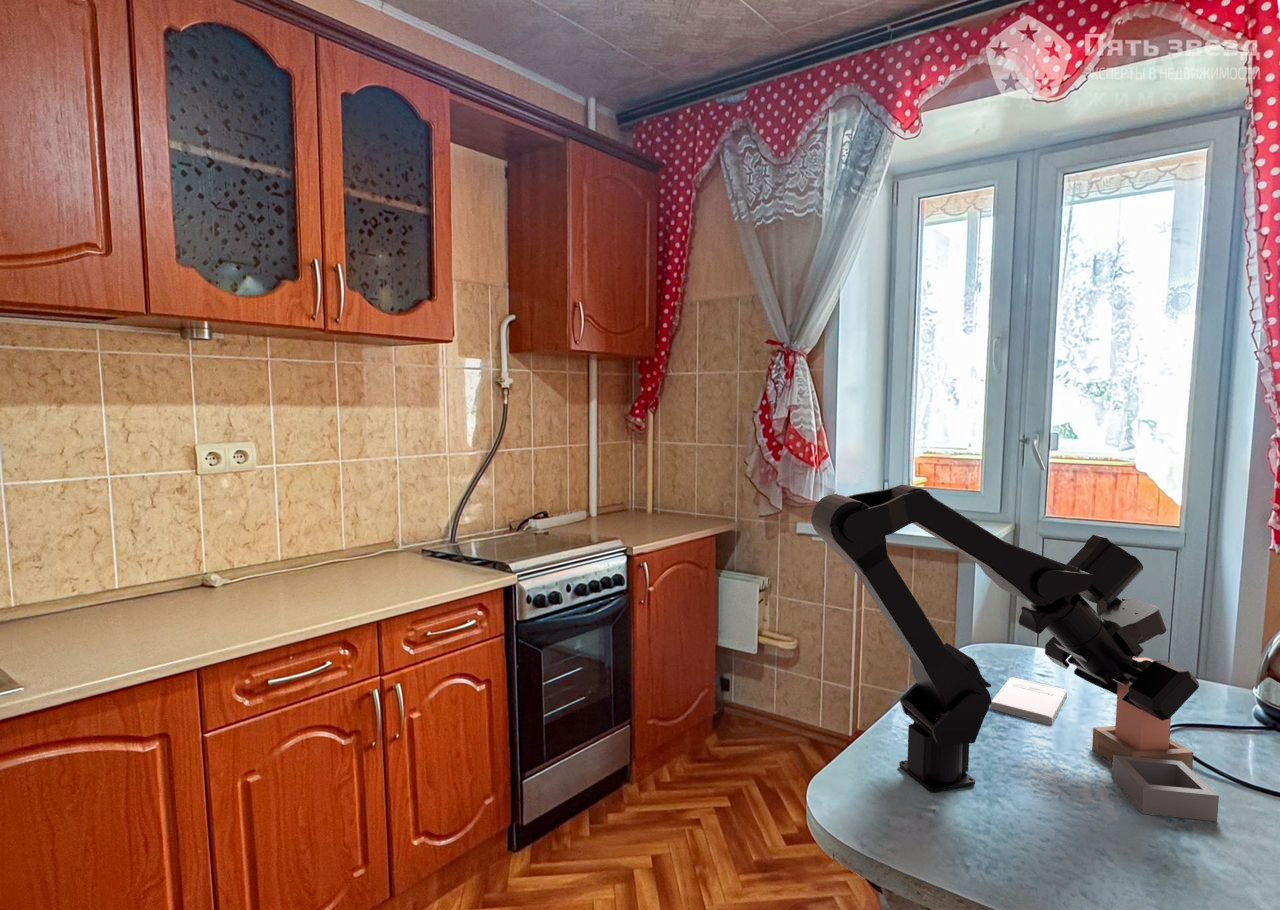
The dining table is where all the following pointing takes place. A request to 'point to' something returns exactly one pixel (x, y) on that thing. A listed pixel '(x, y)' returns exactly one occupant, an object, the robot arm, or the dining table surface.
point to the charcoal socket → (1165, 788)
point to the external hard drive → (1029, 700)
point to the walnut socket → (1112, 745)
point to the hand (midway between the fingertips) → (1153, 708)
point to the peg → (1140, 724)
